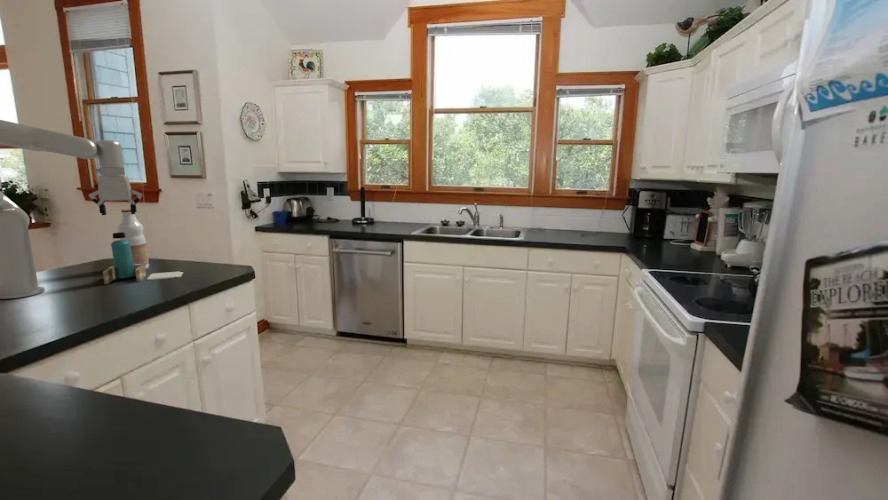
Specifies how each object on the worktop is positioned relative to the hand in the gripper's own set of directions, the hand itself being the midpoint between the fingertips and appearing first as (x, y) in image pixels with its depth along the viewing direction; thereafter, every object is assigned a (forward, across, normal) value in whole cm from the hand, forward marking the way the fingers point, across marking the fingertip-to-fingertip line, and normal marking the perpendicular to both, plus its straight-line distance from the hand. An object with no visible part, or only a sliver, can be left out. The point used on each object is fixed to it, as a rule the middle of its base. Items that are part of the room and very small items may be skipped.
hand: (119, 214), depth 165 cm
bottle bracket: (+27, -1, 0) cm, 27 cm away
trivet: (+28, +13, 0) cm, 31 cm away
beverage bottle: (+28, -1, 0) cm, 28 cm away
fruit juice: (+28, -1, +20) cm, 34 cm away
